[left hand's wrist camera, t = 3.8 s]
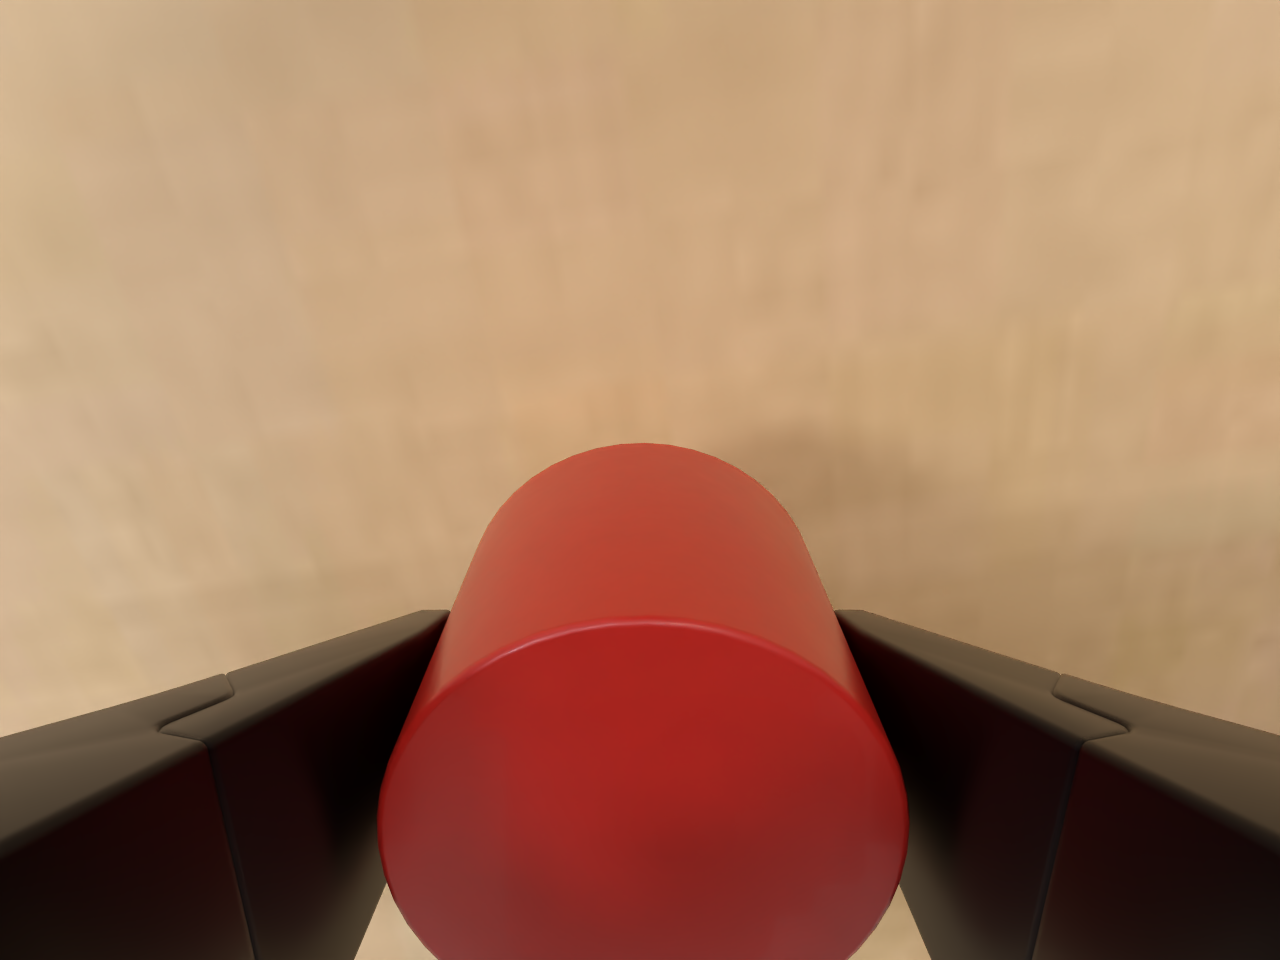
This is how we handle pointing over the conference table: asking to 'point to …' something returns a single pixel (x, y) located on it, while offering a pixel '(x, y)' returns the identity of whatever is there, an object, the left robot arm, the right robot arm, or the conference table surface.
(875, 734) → the canister
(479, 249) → the conference table surface
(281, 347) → the conference table surface
